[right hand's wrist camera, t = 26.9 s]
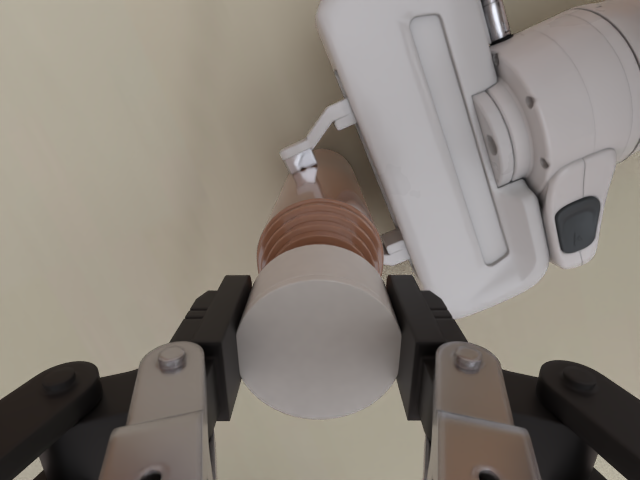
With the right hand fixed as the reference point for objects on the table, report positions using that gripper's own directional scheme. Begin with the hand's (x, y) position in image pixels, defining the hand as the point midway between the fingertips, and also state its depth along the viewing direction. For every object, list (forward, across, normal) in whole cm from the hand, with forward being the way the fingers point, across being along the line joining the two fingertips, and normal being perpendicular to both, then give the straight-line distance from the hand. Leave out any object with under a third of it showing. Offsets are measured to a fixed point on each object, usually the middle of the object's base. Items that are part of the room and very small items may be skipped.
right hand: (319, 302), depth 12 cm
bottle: (+18, 0, 0) cm, 18 cm away
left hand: (+12, -1, 0) cm, 12 cm away
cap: (-2, 0, 0) cm, 2 cm away
